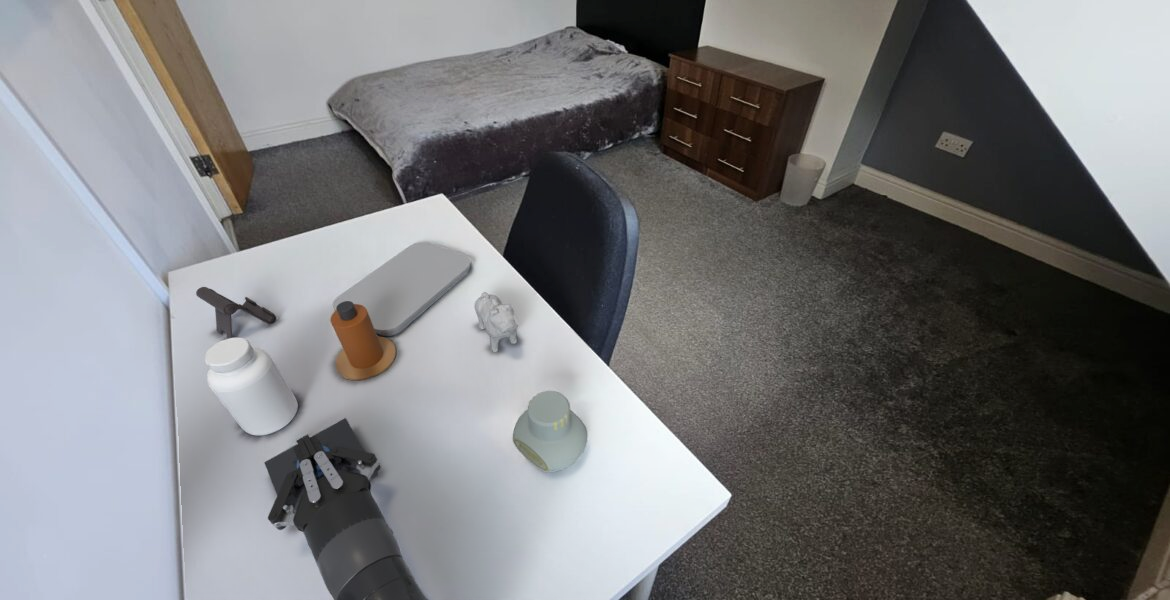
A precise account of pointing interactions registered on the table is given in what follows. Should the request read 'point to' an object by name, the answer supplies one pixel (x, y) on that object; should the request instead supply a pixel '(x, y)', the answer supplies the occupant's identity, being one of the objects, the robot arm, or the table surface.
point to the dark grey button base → (329, 438)
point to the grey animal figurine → (496, 319)
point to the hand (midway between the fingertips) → (304, 440)
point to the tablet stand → (232, 310)
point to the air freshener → (550, 432)
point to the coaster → (366, 373)
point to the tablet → (406, 285)
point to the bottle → (356, 334)
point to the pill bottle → (250, 386)
